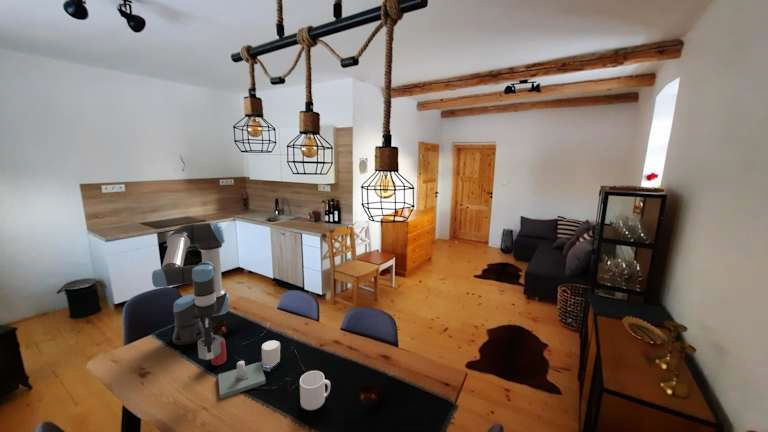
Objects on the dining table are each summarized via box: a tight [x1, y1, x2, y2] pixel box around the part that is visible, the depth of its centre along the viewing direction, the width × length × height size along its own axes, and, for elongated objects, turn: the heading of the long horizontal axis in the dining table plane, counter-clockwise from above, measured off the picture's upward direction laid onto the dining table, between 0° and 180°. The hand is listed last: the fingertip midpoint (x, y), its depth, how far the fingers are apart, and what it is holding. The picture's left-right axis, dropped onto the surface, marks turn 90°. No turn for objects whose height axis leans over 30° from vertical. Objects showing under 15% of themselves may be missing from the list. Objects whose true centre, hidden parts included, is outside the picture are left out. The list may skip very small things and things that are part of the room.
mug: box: [299, 370, 332, 411], centre depth 125 cm, size 13×10×10 cm
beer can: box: [210, 336, 227, 366], centre depth 148 cm, size 7×7×12 cm
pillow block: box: [217, 360, 267, 400], centre depth 135 cm, size 14×18×9 cm
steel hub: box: [197, 334, 221, 361], centre depth 128 cm, size 8×8×6 cm
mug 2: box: [261, 339, 281, 366], centre depth 150 cm, size 12×9×8 cm
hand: (210, 352), depth 128 cm, fingers closed on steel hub, 8 cm apart
